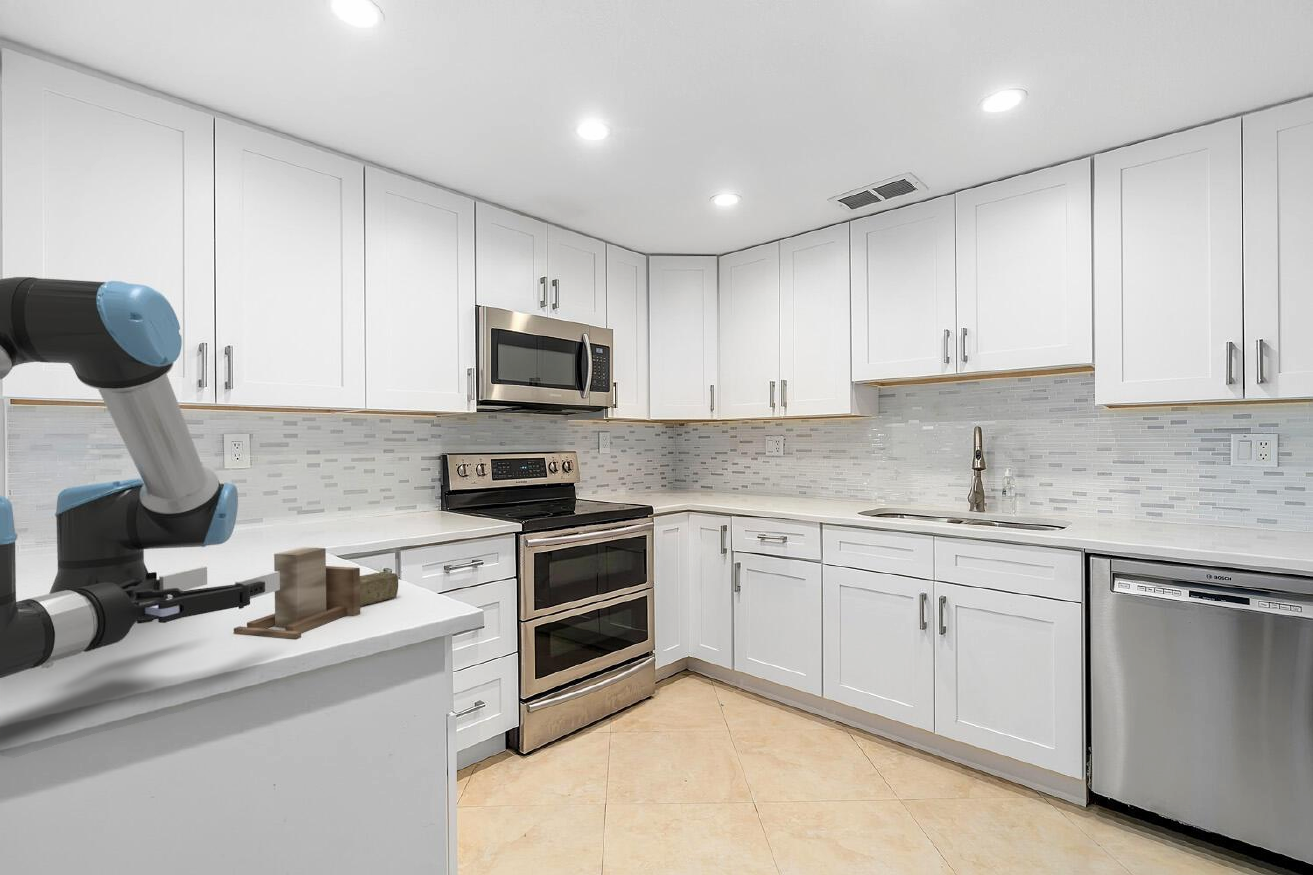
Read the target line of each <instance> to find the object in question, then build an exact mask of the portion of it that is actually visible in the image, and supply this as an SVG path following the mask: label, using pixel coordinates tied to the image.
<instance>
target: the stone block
mask: <svg viewBox="0 0 1313 875" xmlns="http://www.w3.org/2000/svg"><path fill="white" fill-rule="evenodd" d="M398 591H399V578H398V575H397V574H396V573H395V572H386V571H381V572H375V573H369V574H364V575H363V574H362V575H360V608H361V607H363V606H364V605H365V606H368V605H367V604H369V605H372V604H376V603H380V602H384V601H383V600H385V601H388V600H391V599H393V598H396V597H397V596H398ZM387 599H388V600H387Z"/></svg>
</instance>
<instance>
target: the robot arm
mask: <svg viewBox="0 0 1313 875" xmlns="http://www.w3.org/2000/svg"><path fill="white" fill-rule="evenodd" d="M180 330H181V325H180V322H179V319H178V317H177V314H176V313H175V310H174V308H173V306H172V305H171V303H170V302H169V299H168V298H166V297H165V296H164V295H163V294H162V293H161V292H159V290H156V289H155V288H152V287H150V286H148V285H144V284H136V283H127V282H124V281H121V280H120V281H119V280H109V281H93V280H91V281H89V280H77V279H75V280H74V279H60V278H59V279H58V278H56V279H55V278H39V277H34V276H33V277H30V276H29V277H28V276H14V277H5V278H0V380H2V379H4V378H5V377H7V376H8V375H9V373H10V372H11V370H13V368H15V367H17V366H19V365H23V364H29V363H53V364H69V365H70V366H71V368H72V369H73V372H75V376H76V377H77V378H78V380H79V381H80V382H81V383H83V385H86V386H87V387H89V388H92V389H97V390H98V392H99V394H100V396H101V398H102V400H103V401H104V402H103V403H104V404H105V407H106V408H107V411H108V413H109V415H110V417H111V419H112V420H113V423H114V425H115V427H116V429H117V431H118V433H119V435H120V437H121V439H122V441H123V443H124V445H125V447H126V450H127V451H128V453H129V456H130V457H131V459H132V461H133V464H134V465H135V468H136V470H137V472H138V474H139V476H140V477H139V478H130V479H124V480H117V481H116V480H115V481H109V482H103V483H102V482H101V483H95V484H87V485H80V486H74V487H72V486H71V487H67V488H65V489H63V490H61V491H60V492H59V493H58V495H57V502H56V511H55V514H54V516H55V518H56V547H57V548H56V553H57V554H56V555H57V556H56V558H57V573H56V576H55V578H54V580H53V583H52V584H51V585H52V586H51V588H50V591H49V593H47V594H44V595H39V596H34V597H31V598H26V599H23V600H19V601H17V588H16V586H17V585H16V584H17V580H16V575H17V574H16V572H17V571H16V570H17V568H16V563H17V562H16V541H17V539H18V534H17V533H16V528H15V520H14V513H13V505H12V502H11V500H9V498H7V497H5V496H2V495H0V679H3V678H6V677H9V676H12V675H16V674H18V673H19V674H20V673H21V672H24V671H28V670H31V669H35V668H37V667H41V668H42V669H49V668H51V667H53V665H54V662H56V661H60V660H64V659H66V658H70V657H74V656H76V655H79V654H81V653H83V652H85V653H86V652H91V651H95V650H97V649H101V648H104V647H107V646H110V645H113V644H116V643H117V644H118V643H120V642H121V641H122V640H123V639H124V638H126V637H127V635H128V634H129V633H130V630H131V629H132V627H133V625H134V624H135V623H136V624H145V623H151V622H153V621H155V620H158V622H157V623H161V624H166V623H168V622H172V621H176V620H178V619H183V618H188V617H193V616H199V615H205V614H210V613H215V612H219V611H225V610H230V609H234V608H238V610H240V609H241V610H242V609H244V608H245V607H248V606H249V605H251V599H255V598H258V597H261V596H263V595H268V594H272V593H275V591H277V590H280V571H271V572H268V573H267V572H266V573H264V574H260V575H256V576H252V577H249V578H246V579H242V580H237V581H234V582H235V583H234V584H227V585H220V586H219V585H218V586H213V587H212V586H211V587H204V586H206V585H208V566H199V567H194V568H191V569H187V570H182V571H178V572H174V573H168V574H164V575H160V576H159V577H157V575H158V573H157V572H156V571H154V572H149V570H148V568H147V567H146V564H145V558H144V557H145V555H144V554H145V550H151V549H152V550H154V549H155V550H156V549H157V550H158V549H175V548H176V549H180V548H199V547H200V548H205V547H209V546H217V545H222V544H224V543H226V542H227V541H228V540H229V539H230V538H231V537H232V535H233V531H234V530H235V526H236V521H237V517H238V516H237V515H238V508H239V496H238V493H239V492H238V489H237V486H236V485H235V484H234V483H228V482H224V483H220V481H219V478H218V475H217V474H216V473H215V472H214V471H213V470H211V469H210V468H208V467H206V466H203V464H202V462H201V459H200V456H199V453H198V450H197V448H196V446H195V443H194V440H193V438H192V436H191V433H190V430H189V428H188V425H187V423H186V420H185V416H184V415H183V413H182V410H181V407H180V404H179V402H178V400H177V397H176V394H175V392H174V391H175V390H174V389H173V387H172V384H171V382H170V379H169V377H168V373H170V371H171V370H172V368H173V367H174V363H175V362H176V361H177V360H178V358H179V357H180V354H181V351H182V344H183V342H182V341H183V340H182V335H181V333H180ZM157 578H159V579H157ZM198 587H204V588H198ZM195 588H196V589H195ZM170 595H171V596H172V598H171V597H170V598H169V596H170Z"/></svg>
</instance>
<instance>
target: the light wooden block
mask: <svg viewBox="0 0 1313 875" xmlns="http://www.w3.org/2000/svg"><path fill="white" fill-rule="evenodd" d="M326 551H327V550H326V547H311V546H310V547H309V546H303V547H299V548H294V549H289V550H285V551H281V552H276V553H274V554H273V561H274V562H273V564H274V565H273V566H274V569H273V570H274V571H280V590H277V591H274V613H275V626H274V627H275V628H282V629H285V626H287V625H289V624H292V623H295V622H298V621H300V620H303V619H306V618H309V617H311V616H314V615H317V614H319V613H322V612H325V611H326V566H327V565H326V564H327V562H326V561H327V560H326V559H327V557H326V556H327V554H326ZM274 571H273V572H274Z"/></svg>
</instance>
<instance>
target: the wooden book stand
mask: <svg viewBox="0 0 1313 875" xmlns="http://www.w3.org/2000/svg"><path fill="white" fill-rule="evenodd" d="M360 569H361V568H360V567H351V566H349V567H348V566H334V565H333V566H331V565H326V611H325V612H322V613H319V614H317V615H314V616H311V617H309V618H306V619H303V620H300V621H298V622H295V623H292V624H289V625H287V626H285V628H284V629H272V627H275V612H274V613H270V614H269V615H267V616H262V617H260V618H257V619H254V620H251V621H248V622H246V626H242V625H241V626H240V625H239V626H237V627H234V628H233V634H237V635H248V636H258V637H259V636H260V637H270V638H277V639H278V638H281V639H289V640H290V639H291V640H298V639H299V638H301V637H302V634H303V633H306V632H308V631H310V630H314V629H315V628H318V627H321V626H323V625H326V624H328V623H331V622H333V621H336V620H339V619H341V618H344V617H347V616H349V617H355V616H357V615H360V614H361V607H360V576H361V575H360V574H361V570H360ZM338 618H339V619H338Z"/></svg>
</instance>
